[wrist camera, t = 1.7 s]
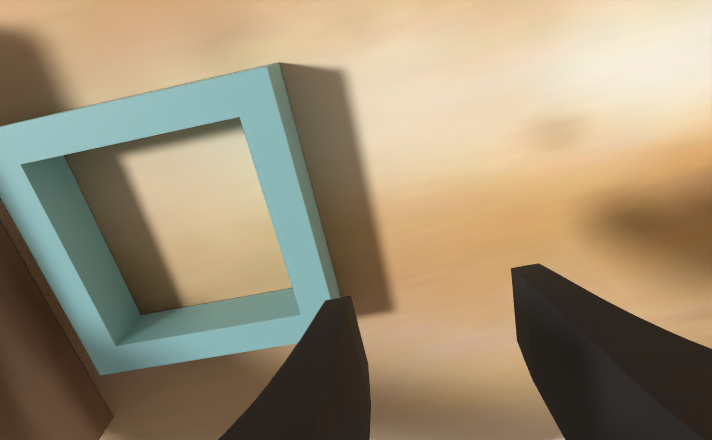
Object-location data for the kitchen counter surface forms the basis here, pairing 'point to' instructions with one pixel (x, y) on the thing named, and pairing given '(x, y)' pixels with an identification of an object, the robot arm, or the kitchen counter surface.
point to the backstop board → (40, 365)
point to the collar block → (93, 258)
